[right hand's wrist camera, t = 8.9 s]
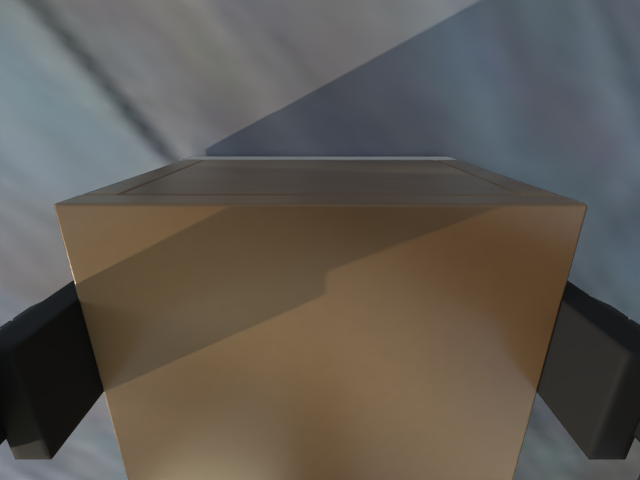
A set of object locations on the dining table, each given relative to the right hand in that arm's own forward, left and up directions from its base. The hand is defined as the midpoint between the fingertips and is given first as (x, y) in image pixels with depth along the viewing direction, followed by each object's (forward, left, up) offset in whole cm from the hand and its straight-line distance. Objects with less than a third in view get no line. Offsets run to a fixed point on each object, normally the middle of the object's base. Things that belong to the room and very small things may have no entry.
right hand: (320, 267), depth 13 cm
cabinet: (+6, +3, -4) cm, 7 cm away
